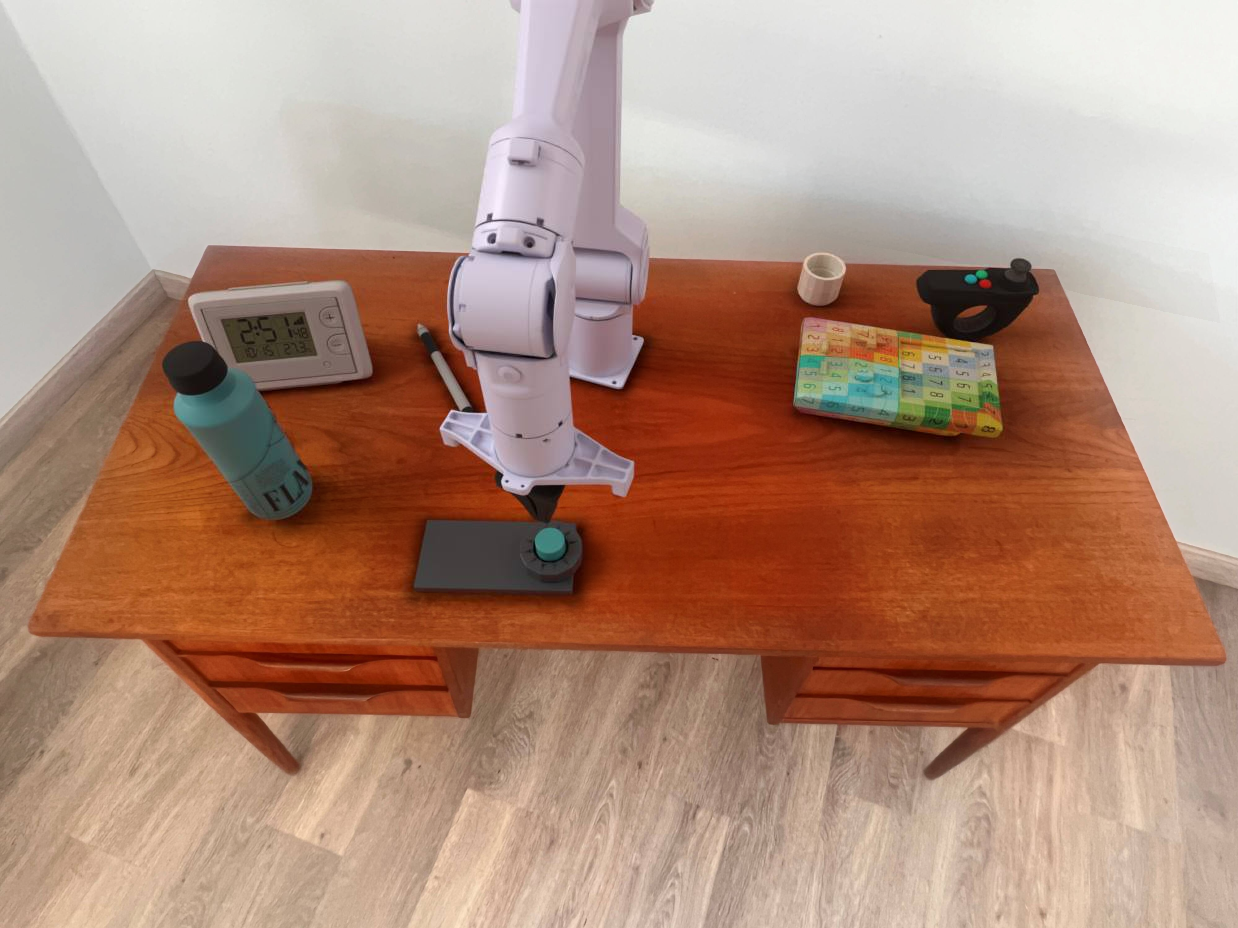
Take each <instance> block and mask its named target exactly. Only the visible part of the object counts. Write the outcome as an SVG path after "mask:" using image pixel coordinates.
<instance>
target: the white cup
mask: <svg viewBox="0 0 1238 928" xmlns="http://www.w3.org/2000/svg"><path fill="white" fill-rule="evenodd" d="M846 266H847V265H846V263H845V261H844V260H842V258H841V257H839V256H837V255H835V254H832V253H827V252H815V253H812V254H809V255H808V256H807V257H806V258H804V261H803V264H802V267H801V272H800V275H799V279H798V283H797V288H796V289H797V293H798V295H799V296H800V298H801V299H802V301H804V302H805V303H808V304H809V305H811V306H817V307H821V306H822V307H823V306H826V305H829V304H831V303H832V302H834V301H836V299H837V298H838V296H839V293H840V290H841V287H842V285H843V281H844V277H845V275H846V271H847V267H846Z"/></svg>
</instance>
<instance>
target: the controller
mask: <svg viewBox="0 0 1238 928" xmlns="http://www.w3.org/2000/svg"><path fill="white" fill-rule="evenodd" d="M1032 268H1033V266H1032V263H1031V262H1030V261H1029V260H1028V259H1025V258H1023V257H1016V258H1013V259H1012V260H1011V261H1010V263H1009V267H1006V268H1005V267H987V268H985V269H927V270H926V271H924V272H923V273H922V274H921V275H920V276H918V277H917V278H916V280H915V287H916V290H917V291H916V292H917V294H918V296H919V299H920V300H921V301H922V302H923V303H924V304H927V305H930V314H931V318H932V321H933V324H934V325H935V327H936V329H937V330H938V331H939V332H940V333H941V334H943V335H944V336H946V337H948V338H949V339H954V340H961V341H975V340H980V339H984V338H988V337H990V336H993V335H995V334H997V333H1000V332H1001V331H1003V330H1005V329H1006V328H1007V327H1009V326H1010V325H1012V323H1013V322H1015V321H1016V320H1017V319H1018V318H1019V316H1020V315H1021V314H1022V313H1023V312H1024V311H1025V310H1026V308H1028V307H1029V305H1030V304H1031V302H1032V301H1033V300H1034V296H1038V295H1039V293H1040V286H1039V283H1038V281H1037V278H1036V277H1035V276H1034V274H1033V273H1032V272H1031V271H1032ZM981 306H985V308H984V309H983V310H981V311H980V312H978V313H976V314H974V315H970V316H967V317H959V316H960V314H962V313H963V312H966V311H967V310H969V309H972V308H976V307H981Z"/></svg>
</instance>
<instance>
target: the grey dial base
mask: <svg viewBox="0 0 1238 928" xmlns="http://www.w3.org/2000/svg"><path fill="white" fill-rule="evenodd" d="M546 528H555V529H558V530H559V531H561V532H562V534H563V535H564V538H565V547H566V549H565V553H564V554H563V556H562V557H561V558H560V559H558V560H556V561H545V560H543V559H541V558H540V557H539V556H538V554H537V551H536V545H535V538H536V536H537V534H538V533H539V532H540V531H541V530H543V529H546ZM583 551H584V548H583V540H582V537H581V536H580V535H579V533H578V531H577V523H576V522H565V521H563V520H550V522H549V523H548V524H547V523H544V522H541V521H501V520H499V521H496V520H494V521H493V520H492V521H491V520H454V519H453V520H452V519H451V520H449V519H446V520H445V519H444V520H443V519H427V520H426V524H425V529H424V534H423V538H422V543H421V549H420V554H419V559H418V563H417V569H416V574H415V579H414V583H413V589H414V592H416V593H452V594H459V593H460V594H497V595H499V594H501V595H503V594H504V595H544V596H545V595H546V596H552V595H553V596H572V595H573V592H574V591H573V590H574V575H575V573H576V572H577V571H578V569H579V568H580V566H581V565H582V563H583Z"/></svg>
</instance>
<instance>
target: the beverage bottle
mask: <svg viewBox="0 0 1238 928" xmlns="http://www.w3.org/2000/svg"><path fill="white" fill-rule="evenodd" d="M161 368H162V371H163V373H164V375H165V376H166V378H167V380H168V383H169V385H170V386H171V388H172V389H173V390H174V391H175V392H177V393H176V394H175V398H174V400H173V412H174V414H175V416H176V418H177V419H178V420H179V422H180V423H181V424H182V425H184V427H185V429H186V430H188V432H189V433H190V435H191V436H192V437H193V439H194V440H195V441H196V443H198V445H199V446H200V447H201V449H202V450H203V451H204V453H205V454H206V455H207V456H208V458H209V459H210V460H211V461H212V463H213V464H214V465H215V467H216V468H217V470H218V471H219V473H220V474H221V475H222V477H223V478H224V479H225V481H226V482H227V484H228V485H229V486H230V488H231V489H232V491H233V492H234V493H235V495H236V496H237V497H238V498H239V500H240V501H241V502H242V504H243V505H244V507H245V508H246V509H247V510H248V512H249V513H250V514H251V515H252V516H254V517H256V518H260V519H262V520H268V521H278V520H283V519H287V518H290V517H291V516H294V515H296V514H297V513H298V512H301V510H302V509H303V508H304V507H305V506H306V505H307V504H308V502H309V500H310V499H311V497H312V493H313V485H314V481H313V480H314V479H313V478H312V474H310V473H311V472H310V470H309V469H308V467H307V466H306V465H305V464H304V460H302V456H300V454H299V452H298V451H296V447H295V445H294V444H293V443H292V442H291V441H290V440H291V438H290V437H289V436H287V431H284V428H283V426H281V424H280V422H281V421H280V420H279V418H278V417H277V416H276V413H275V411H274V410H273V409H272V408H271V405H270V404H268V403H267V401H266V399H264V397H263V396H264V393H260V391H259V390H258V389H257V388H256V386H255V383H254V381H253V380H252V378H251V377H250V376H249V375H248V374H246V373H245V372H243V371H241V370H238V369H234V368H228V367H227V364H226V362H225V361H224V359H223V358H222V357H221V356H220V355H219V354H218V352H217V351H216V350H215V348H214V347H213V346H212V345H210V344H209V343H206V342H203V341H202V340H191V341H190V340H189V341H185V342H183V343H180V344H178V345H176V346H175V347H173V348H172V349H170V350H169V351H168V352H167V353H166V354H165V356H164V357H163V359H162V362H161ZM278 421H279V422H278Z"/></svg>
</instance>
